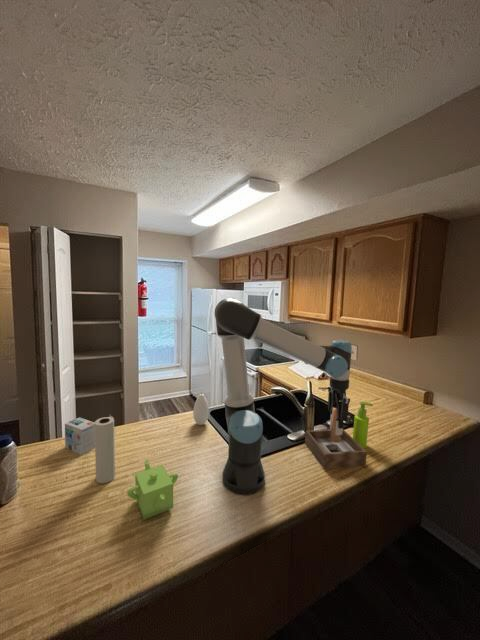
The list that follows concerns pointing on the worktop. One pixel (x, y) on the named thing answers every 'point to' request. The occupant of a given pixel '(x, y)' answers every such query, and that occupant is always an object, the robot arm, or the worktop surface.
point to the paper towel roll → (104, 449)
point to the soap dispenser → (361, 425)
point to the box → (347, 449)
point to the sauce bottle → (201, 410)
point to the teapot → (153, 490)
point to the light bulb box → (80, 435)
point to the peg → (334, 426)
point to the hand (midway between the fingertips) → (335, 431)
